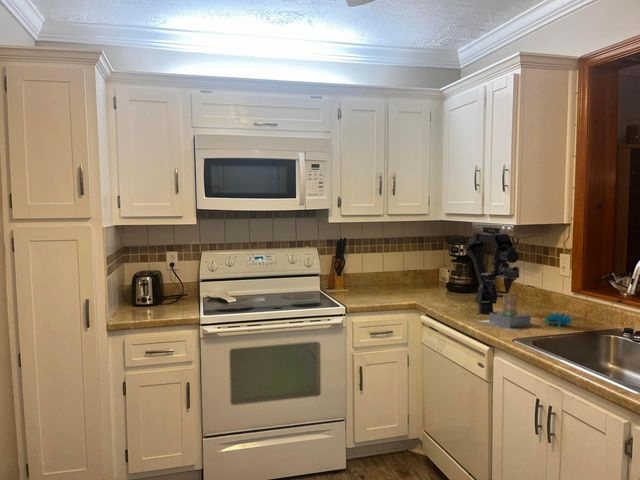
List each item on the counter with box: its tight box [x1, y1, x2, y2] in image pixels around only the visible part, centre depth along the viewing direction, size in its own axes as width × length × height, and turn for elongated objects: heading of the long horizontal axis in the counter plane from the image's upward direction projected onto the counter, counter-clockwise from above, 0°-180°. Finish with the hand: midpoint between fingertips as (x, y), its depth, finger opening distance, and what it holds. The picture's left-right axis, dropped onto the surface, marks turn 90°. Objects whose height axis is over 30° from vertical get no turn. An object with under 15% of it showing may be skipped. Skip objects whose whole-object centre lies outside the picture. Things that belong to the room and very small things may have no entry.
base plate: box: [478, 319, 540, 332], centre depth 213 cm, size 20×18×1 cm
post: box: [502, 292, 518, 316], centre depth 213 cm, size 4×4×10 cm
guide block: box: [488, 310, 531, 329], centre depth 213 cm, size 12×12×5 cm
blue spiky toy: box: [543, 312, 573, 328], centre depth 208 cm, size 11×6×10 cm
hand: (499, 293), depth 222 cm, fingers open, 9 cm apart
